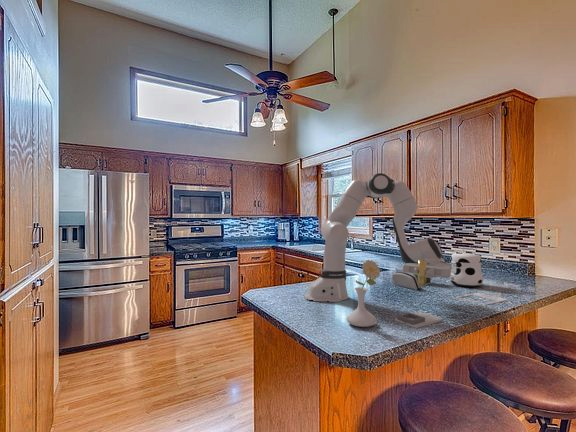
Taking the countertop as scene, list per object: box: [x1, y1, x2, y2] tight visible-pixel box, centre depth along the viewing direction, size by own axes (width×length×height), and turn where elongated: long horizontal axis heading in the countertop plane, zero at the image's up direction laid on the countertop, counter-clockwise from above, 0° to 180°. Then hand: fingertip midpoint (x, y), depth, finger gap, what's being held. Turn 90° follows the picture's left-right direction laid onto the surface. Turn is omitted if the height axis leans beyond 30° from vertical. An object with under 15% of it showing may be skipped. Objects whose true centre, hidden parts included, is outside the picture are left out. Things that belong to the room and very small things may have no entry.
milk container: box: [449, 253, 484, 288], centre depth 184 cm, size 17×17×18 cm
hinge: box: [391, 271, 422, 291], centre depth 181 cm, size 17×5×10 cm, turn 28°
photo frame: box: [455, 292, 508, 306], centre depth 153 cm, size 15×1×18 cm
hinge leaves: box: [394, 311, 443, 329], centre depth 123 cm, size 16×10×2 cm, turn 120°
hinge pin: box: [418, 260, 427, 288], centre depth 134 cm, size 3×3×11 cm
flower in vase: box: [345, 259, 381, 328], centre depth 119 cm, size 13×11×25 cm
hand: (421, 272), depth 134 cm, fingers closed on hinge pin, 3 cm apart
